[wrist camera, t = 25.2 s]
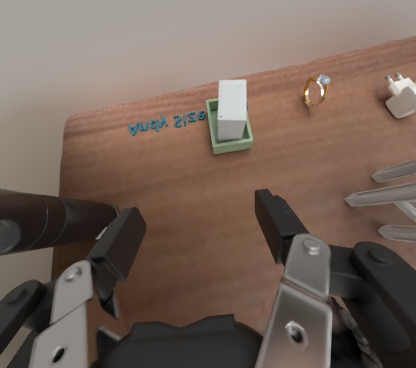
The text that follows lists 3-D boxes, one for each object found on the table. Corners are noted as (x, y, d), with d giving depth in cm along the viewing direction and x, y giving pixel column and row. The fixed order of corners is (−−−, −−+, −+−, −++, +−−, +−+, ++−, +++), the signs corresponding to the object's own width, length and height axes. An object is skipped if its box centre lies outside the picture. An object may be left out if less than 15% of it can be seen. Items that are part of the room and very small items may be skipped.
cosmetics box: (241, 144, 41) (247, 120, 31) (217, 144, 41) (215, 120, 31) (241, 111, 43) (246, 77, 33) (218, 111, 44) (217, 79, 34)
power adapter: (369, 88, 42) (392, 67, 36) (386, 82, 42) (412, 61, 36) (393, 121, 39) (422, 104, 34) (411, 115, 39) (443, 97, 33)
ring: (296, 94, 44) (312, 67, 36) (307, 91, 43) (326, 64, 36) (304, 114, 42) (322, 91, 34) (315, 112, 42) (337, 88, 34)
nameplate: (128, 123, 47) (128, 137, 46) (126, 121, 46) (127, 136, 45) (246, 100, 45) (249, 115, 44) (246, 98, 44) (250, 113, 43)
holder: (213, 154, 42) (212, 147, 38) (207, 111, 45) (205, 100, 41) (250, 148, 41) (253, 140, 37) (241, 104, 44) (243, 93, 40)
